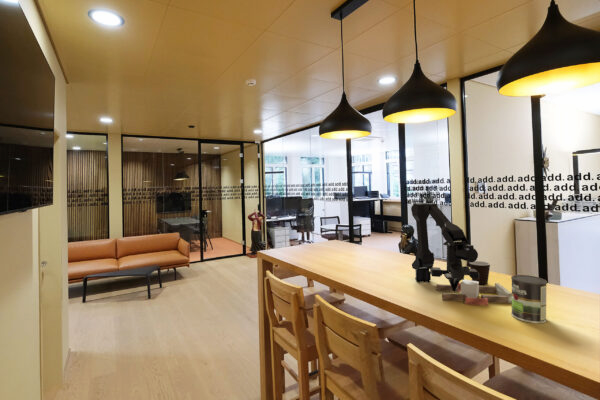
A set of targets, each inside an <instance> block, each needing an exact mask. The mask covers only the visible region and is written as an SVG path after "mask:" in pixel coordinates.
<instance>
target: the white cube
mask: <svg viewBox="0 0 600 400" xmlns="http://www.w3.org/2000/svg"><path fill="white" fill-rule="evenodd" d="M460 283H461V292H460V294H465V295H466V296H467V297H468V298H479V295H480V292H479V286H480V285H479V282H477V281H472V279H466V278H464V280H461V281H460Z"/></svg>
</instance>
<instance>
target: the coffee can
mask: <svg viewBox="0 0 600 400" xmlns="http://www.w3.org/2000/svg"><path fill="white" fill-rule="evenodd" d="M510 279H511V293H512V303H511V313H510V314H511V316H512V317H513V318H515V319H516V320H519V321H522V322H525V323H530V324H544V323H546V322H547V320H548V319H547V284H548V282H547V280H546V279H544V278H541V277H538V276H535V275H533V276H532V275H529V274H528V275H527V274H526V275H524V274H516V275H512V276H511V278H510Z"/></svg>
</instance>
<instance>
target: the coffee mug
mask: <svg viewBox="0 0 600 400" xmlns="http://www.w3.org/2000/svg"><path fill="white" fill-rule="evenodd" d="M466 266H468V267H469V269H475V270H476V271H477V272H479V279H475V278H471V281H477V282H479V286H487V285H488V284H489V276H490V267H491V263H489V262H487V261H482V260H476V261H474V262H467V263H466Z"/></svg>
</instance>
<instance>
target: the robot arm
mask: <svg viewBox="0 0 600 400" xmlns="http://www.w3.org/2000/svg"><path fill="white" fill-rule="evenodd" d="M410 211H411V215H412V217H413V219H414V220H415V223H416V235H417V237H416V238H417V248H418V249H417V251H416V254H415V258H414V260H413V262H412V263H411V266H412V267H411V268H412V269H413V270H415V277H414V280H415V281H416V282H417V283H431V280H432V279H431V277H435V278H441V277H443V276H444V278H445V279H446V280H448V282H449V285H451V287H452V290H453V291H452V292H453V293H455V292H457V291H456V288H457V286H458V284H459V283H461V282H462V281H463V280H464V279H465V276H469V277H470V279H472V278H475V279H479V272H477V271H476V270H475V269H470V266H469V265H468V266H467V265H466V266H463V262H462V261H465V262H467V263H470V262H474V261H478V257H479V253H478V251H477V250H476V249H475V248H474V245H473V244H470V242H469V240H468V238H467V237H466V234H465V232H464V230H463V228H461V227H459V226H458V225H457V224H454V223H453V222H452V221H451V220H449V219H448V217H447V216H446V214H444V212H443V211H442V210H441V209H440V208H439V205H438V204H437V203H435V202H430V203H426V202H418V203H413V204H412V205H411V207H410ZM429 217H431V218H432V220H434V221H435V223H436V224H437V225H438V226H439V228H440V230H441V235H442V237H443V239H444V240H445V242H444V243H442V244H443V246H446V269H441V267H435V266H434V264H435V260H436V259H435V254H434V252H431V249H430V245H429V233H428V219H429ZM442 275H443V276H442Z"/></svg>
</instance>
